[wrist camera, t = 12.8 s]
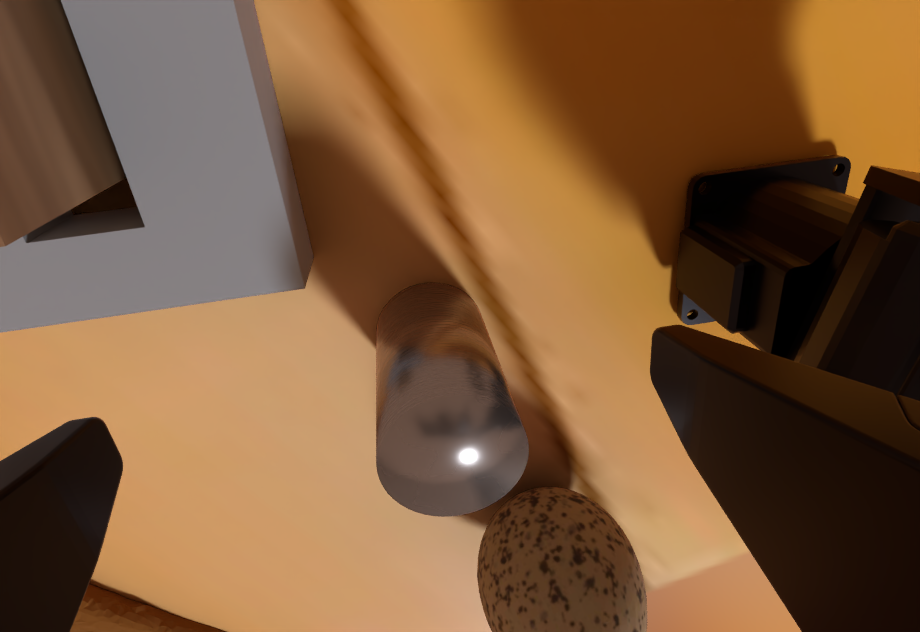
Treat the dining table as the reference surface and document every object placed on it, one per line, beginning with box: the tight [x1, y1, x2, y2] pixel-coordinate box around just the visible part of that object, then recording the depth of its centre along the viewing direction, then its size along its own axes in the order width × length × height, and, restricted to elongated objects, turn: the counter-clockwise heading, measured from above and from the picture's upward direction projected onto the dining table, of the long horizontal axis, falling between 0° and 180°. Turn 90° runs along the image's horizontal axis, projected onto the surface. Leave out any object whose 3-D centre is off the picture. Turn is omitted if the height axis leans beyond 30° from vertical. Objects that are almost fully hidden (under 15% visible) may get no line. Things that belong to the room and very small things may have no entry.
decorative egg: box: [477, 487, 647, 632], centre depth 24 cm, size 7×7×10 cm
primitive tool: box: [70, 584, 225, 632], centre depth 27 cm, size 19×6×4 cm, turn 43°
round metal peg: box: [376, 283, 529, 516], centre depth 20 cm, size 4×4×8 cm
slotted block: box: [0, 0, 314, 332], centre depth 17 cm, size 12×12×3 cm
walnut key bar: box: [0, 0, 127, 247], centre depth 15 cm, size 2×5×8 cm, turn 4°
